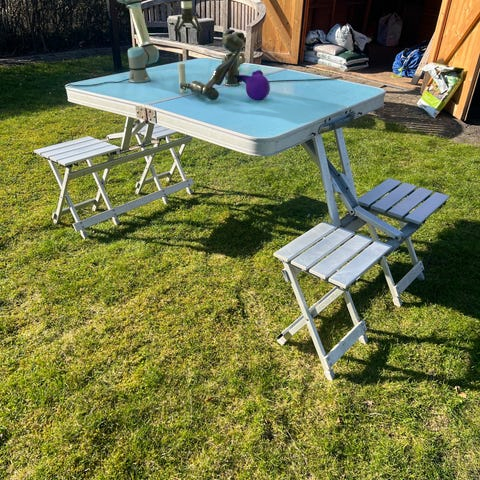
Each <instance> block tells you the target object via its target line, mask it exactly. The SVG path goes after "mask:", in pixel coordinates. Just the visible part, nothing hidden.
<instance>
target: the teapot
mask: <svg viewBox="0 0 480 480" xmlns="http://www.w3.org/2000/svg"><path fill="white" fill-rule="evenodd" d="M240 58H241V59H240ZM224 62H225V57H223V58H222V59H221V64H222V63H224ZM245 62H246V56H245V54H244V52H242V51H240V53H239V55H238V69H239V68H240V67H241V65H243V64H244V63H245Z"/></svg>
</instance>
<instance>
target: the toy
mask: <svg viewBox="0 0 480 480" xmlns="http://www.w3.org/2000/svg"><path fill="white" fill-rule="evenodd" d="M233 76H234V77H235V78H237V79H239V80H241V81H242V83H244V84H245V93H246V95H247V97H248V98H250V100H252V101H257V102H260V101H263V100H265V99H266V98H267V97H268V95H269V94H270V92H271V85H270V82H269V81H270V80H268V78H267V77H266V76H264V73H263V71H262V70H261V69H258V70H257V69H256V70H255V71H252V73H251V75H247V74H239V75H233Z"/></svg>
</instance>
